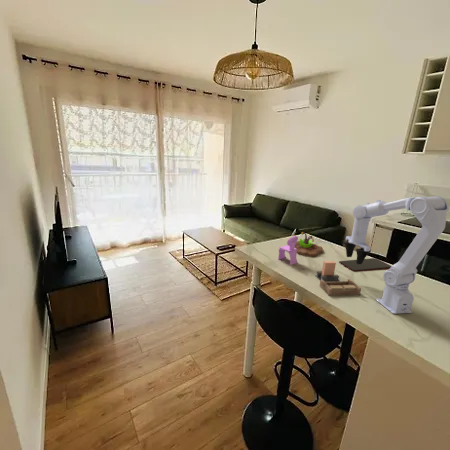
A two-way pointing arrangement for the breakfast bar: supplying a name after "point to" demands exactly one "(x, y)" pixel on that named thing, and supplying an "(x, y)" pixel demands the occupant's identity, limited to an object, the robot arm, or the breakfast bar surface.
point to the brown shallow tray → (340, 292)
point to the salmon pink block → (328, 268)
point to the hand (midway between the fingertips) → (353, 260)
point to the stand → (327, 277)
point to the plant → (307, 247)
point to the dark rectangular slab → (365, 265)
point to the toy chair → (289, 250)
